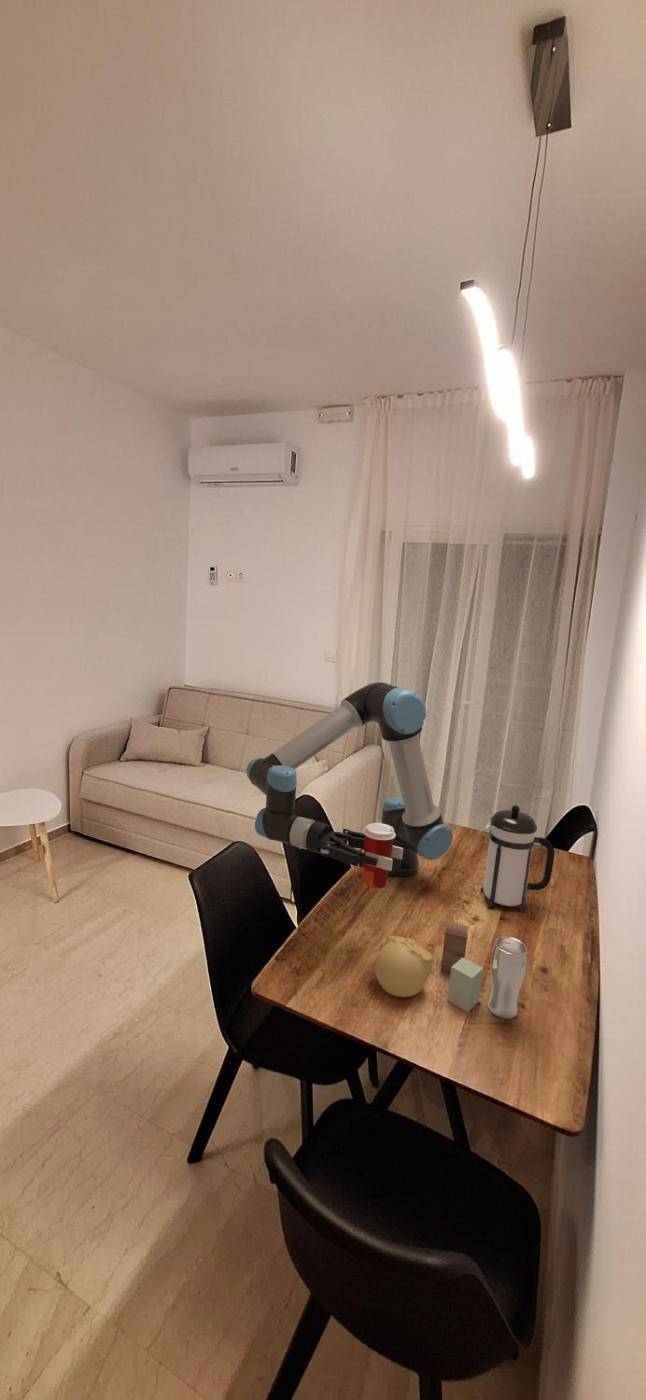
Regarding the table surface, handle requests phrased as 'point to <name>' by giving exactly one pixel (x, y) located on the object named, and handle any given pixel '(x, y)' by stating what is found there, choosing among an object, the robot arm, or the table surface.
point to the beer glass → (507, 976)
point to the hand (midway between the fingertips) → (396, 859)
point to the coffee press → (512, 858)
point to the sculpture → (403, 967)
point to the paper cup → (377, 852)
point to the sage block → (465, 984)
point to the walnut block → (453, 945)
